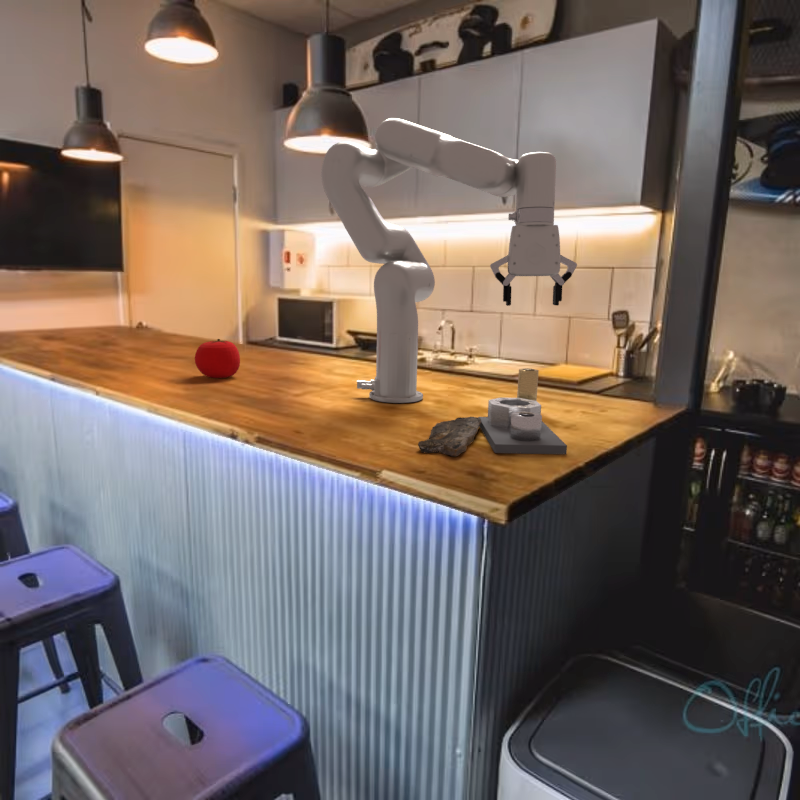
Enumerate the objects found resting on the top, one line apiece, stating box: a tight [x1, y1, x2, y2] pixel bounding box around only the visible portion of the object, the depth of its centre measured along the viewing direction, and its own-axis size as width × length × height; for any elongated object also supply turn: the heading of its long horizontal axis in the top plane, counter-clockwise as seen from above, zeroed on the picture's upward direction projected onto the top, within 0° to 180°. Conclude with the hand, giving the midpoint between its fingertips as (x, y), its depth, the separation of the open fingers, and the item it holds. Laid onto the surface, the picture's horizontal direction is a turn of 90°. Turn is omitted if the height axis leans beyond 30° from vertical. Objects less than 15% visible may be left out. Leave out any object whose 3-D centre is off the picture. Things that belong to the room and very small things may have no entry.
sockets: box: [487, 397, 543, 441], centre depth 113 cm, size 9×18×4 cm, turn 1°
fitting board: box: [478, 416, 568, 455], centre depth 113 cm, size 12×20×2 cm, turn 1°
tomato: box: [194, 338, 241, 379], centre depth 167 cm, size 12×12×10 cm
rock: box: [417, 416, 481, 458], centre depth 110 cm, size 21×8×3 cm, turn 164°
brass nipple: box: [516, 368, 540, 402], centre depth 128 cm, size 4×4×10 cm
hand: (531, 305), depth 127 cm, fingers open, 9 cm apart
